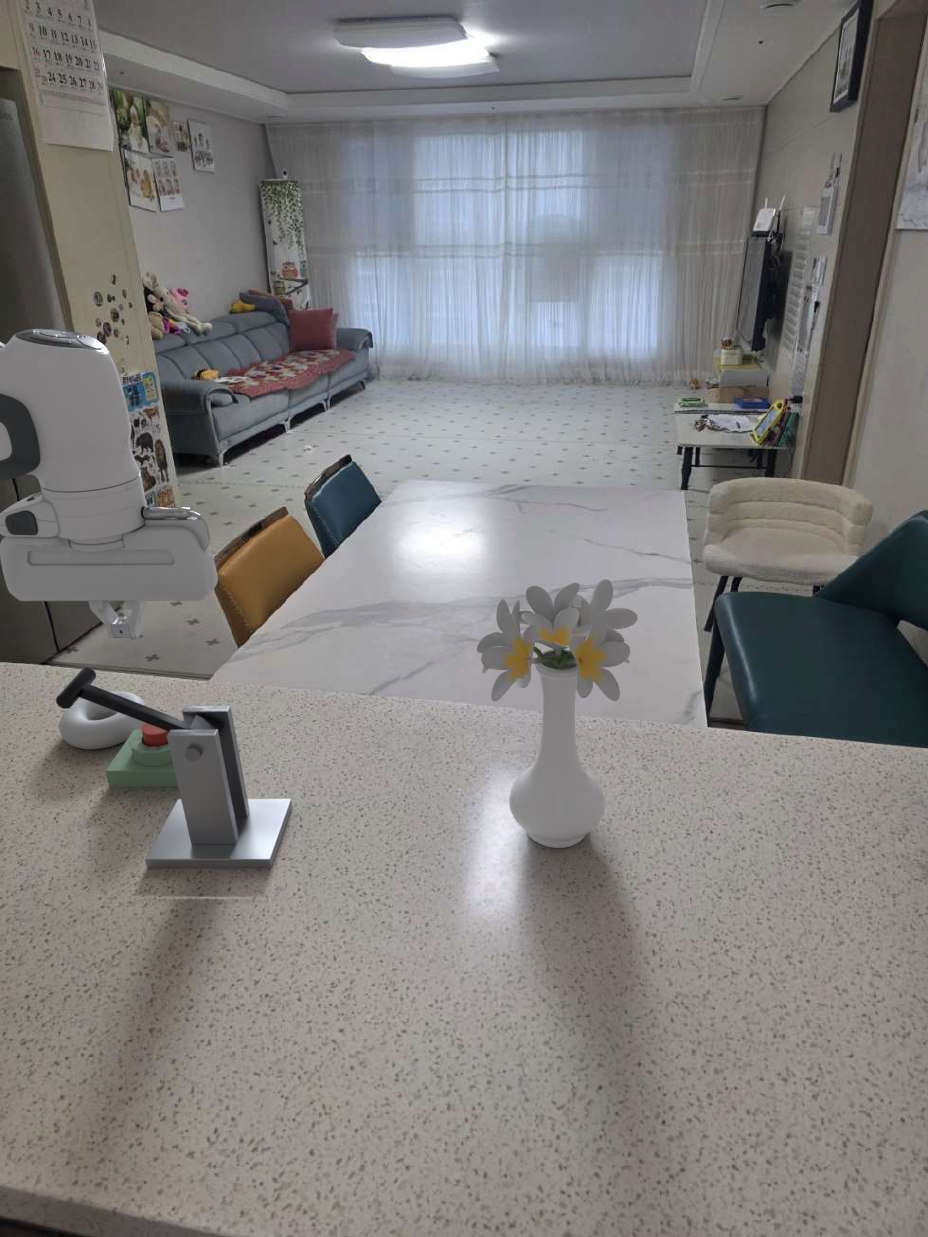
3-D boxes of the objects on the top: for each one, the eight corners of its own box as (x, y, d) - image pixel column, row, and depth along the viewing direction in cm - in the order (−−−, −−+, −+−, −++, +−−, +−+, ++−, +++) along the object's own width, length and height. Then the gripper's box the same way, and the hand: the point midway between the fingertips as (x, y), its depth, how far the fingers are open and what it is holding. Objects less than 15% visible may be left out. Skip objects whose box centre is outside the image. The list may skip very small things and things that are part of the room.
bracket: (147, 869, 78) (115, 749, 72) (179, 807, 86) (153, 695, 80) (271, 869, 78) (250, 748, 72) (292, 807, 86) (275, 694, 80)
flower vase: (635, 781, 88) (652, 565, 77) (598, 904, 73) (612, 655, 62) (519, 759, 92) (519, 550, 81) (460, 870, 77) (450, 631, 66)
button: (139, 748, 90) (136, 734, 89) (151, 729, 93) (148, 716, 93) (171, 747, 90) (168, 734, 89) (182, 729, 93) (180, 716, 92)
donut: (168, 722, 101) (114, 700, 106) (163, 698, 100) (108, 677, 105) (99, 765, 94) (44, 740, 98) (92, 740, 92) (37, 715, 97)
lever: (52, 709, 73) (58, 688, 72) (78, 680, 77) (84, 660, 76) (204, 767, 75) (212, 748, 74) (221, 736, 80) (228, 717, 79)
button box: (109, 787, 90) (101, 757, 88) (138, 745, 97) (130, 716, 95) (199, 787, 89) (193, 756, 88) (221, 744, 97) (216, 715, 95)
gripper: (214, 496, 81) (234, 622, 88) (12, 498, 82) (45, 622, 88) (194, 517, 76) (216, 650, 82) (-24, 519, 77) (15, 650, 83)
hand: (126, 635), depth 85 cm, fingers closed
